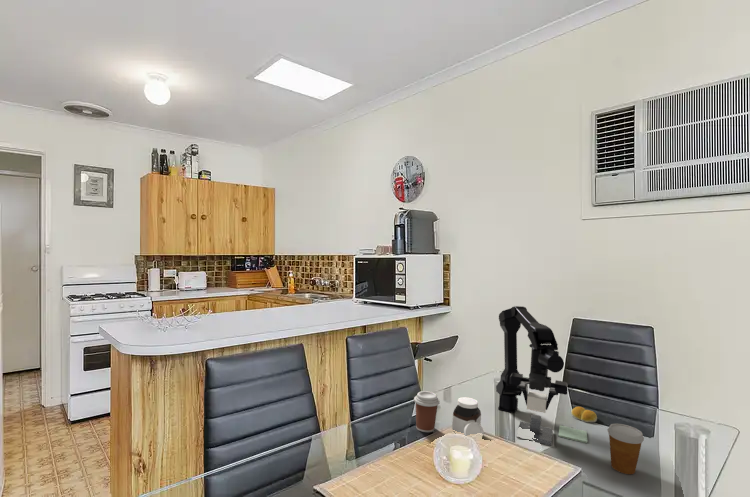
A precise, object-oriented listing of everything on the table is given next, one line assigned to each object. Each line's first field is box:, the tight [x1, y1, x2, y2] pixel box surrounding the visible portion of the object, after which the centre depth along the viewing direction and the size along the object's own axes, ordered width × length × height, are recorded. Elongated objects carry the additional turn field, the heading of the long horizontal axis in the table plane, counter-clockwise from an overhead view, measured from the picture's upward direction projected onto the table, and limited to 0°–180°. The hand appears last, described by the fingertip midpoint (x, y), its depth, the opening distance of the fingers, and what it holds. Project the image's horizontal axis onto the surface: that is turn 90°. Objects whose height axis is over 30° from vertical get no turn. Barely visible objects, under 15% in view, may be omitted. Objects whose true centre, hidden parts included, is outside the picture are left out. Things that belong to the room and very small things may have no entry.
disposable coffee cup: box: [607, 423, 645, 475], centre depth 126 cm, size 10×10×12 cm
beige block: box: [526, 390, 548, 414], centre depth 146 cm, size 6×6×4 cm
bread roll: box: [570, 406, 598, 423], centre depth 163 cm, size 8×9×4 cm
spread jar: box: [451, 396, 484, 436], centre depth 142 cm, size 12×11×12 cm
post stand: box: [518, 414, 554, 447], centre depth 146 cm, size 11×11×6 cm
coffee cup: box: [413, 390, 441, 433], centre depth 147 cm, size 9×9×12 cm
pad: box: [558, 424, 588, 444], centre depth 148 cm, size 9×9×1 cm
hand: (536, 407), depth 146 cm, fingers closed on beige block, 6 cm apart
